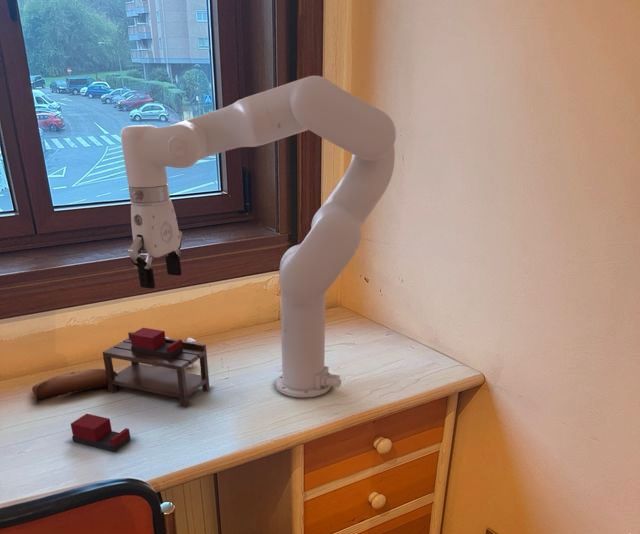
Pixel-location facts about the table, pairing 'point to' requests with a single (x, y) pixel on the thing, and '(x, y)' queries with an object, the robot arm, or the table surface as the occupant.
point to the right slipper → (154, 343)
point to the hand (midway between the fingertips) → (161, 281)
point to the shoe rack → (158, 370)
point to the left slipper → (98, 433)
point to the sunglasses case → (70, 383)
